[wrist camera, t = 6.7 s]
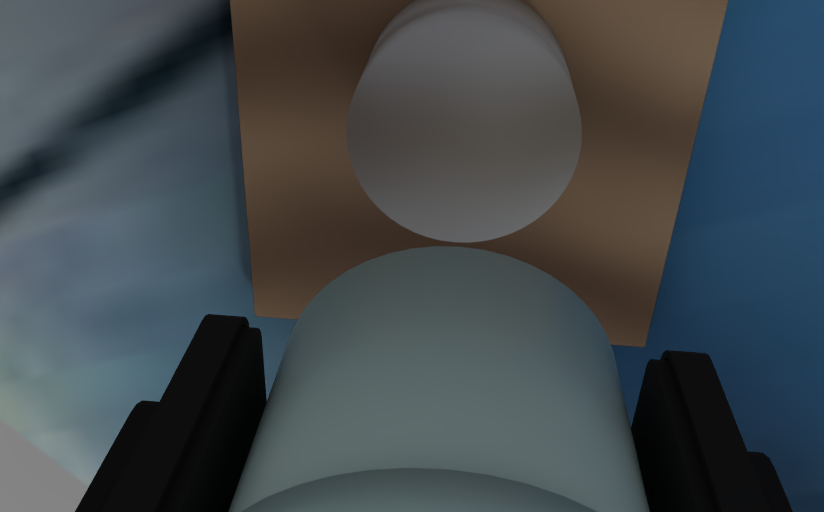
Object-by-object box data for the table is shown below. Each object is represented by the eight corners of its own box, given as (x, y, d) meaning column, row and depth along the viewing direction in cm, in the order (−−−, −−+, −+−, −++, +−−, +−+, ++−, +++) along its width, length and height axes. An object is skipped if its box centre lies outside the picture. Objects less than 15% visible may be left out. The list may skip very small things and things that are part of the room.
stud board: (639, 327, 29) (666, 426, 24) (262, 297, 30) (223, 388, 25) (775, -258, 20) (860, -271, 15) (221, -281, 20) (147, -300, 16)
